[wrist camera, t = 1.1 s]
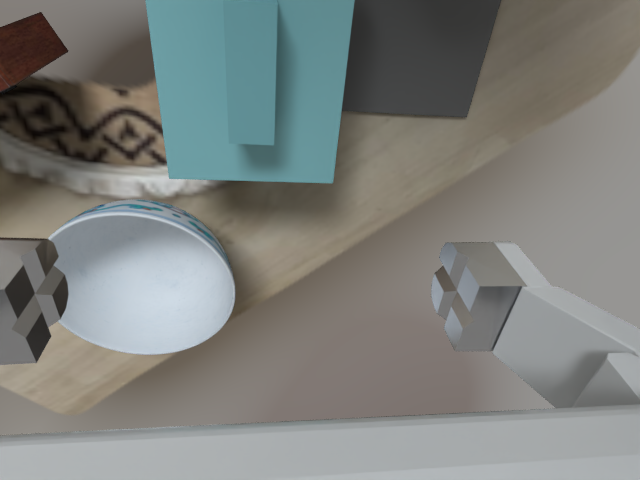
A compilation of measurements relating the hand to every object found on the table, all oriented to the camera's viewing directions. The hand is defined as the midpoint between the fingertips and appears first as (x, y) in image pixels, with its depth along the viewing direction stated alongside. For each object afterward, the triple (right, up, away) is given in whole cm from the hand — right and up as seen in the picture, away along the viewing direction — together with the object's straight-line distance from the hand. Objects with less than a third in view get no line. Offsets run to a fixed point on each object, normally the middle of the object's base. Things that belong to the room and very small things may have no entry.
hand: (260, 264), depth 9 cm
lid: (-3, +12, +17) cm, 21 cm away
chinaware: (-14, +1, +31) cm, 34 cm away
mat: (+9, +16, +23) cm, 29 cm away
